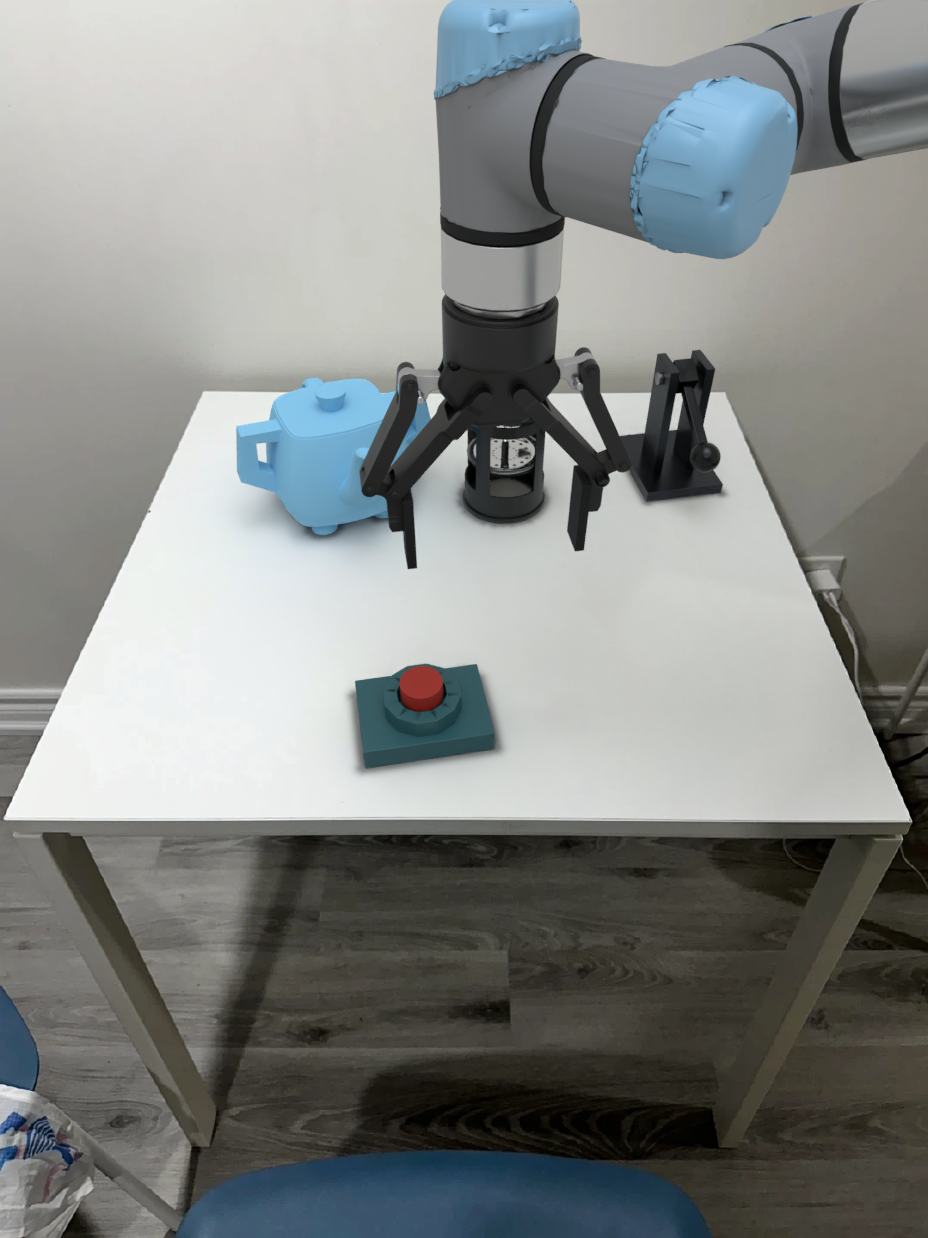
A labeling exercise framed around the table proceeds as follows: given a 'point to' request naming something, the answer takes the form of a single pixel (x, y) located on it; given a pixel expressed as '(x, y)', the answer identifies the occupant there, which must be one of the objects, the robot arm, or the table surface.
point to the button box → (423, 719)
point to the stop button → (421, 688)
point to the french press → (505, 471)
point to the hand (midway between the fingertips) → (493, 549)
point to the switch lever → (695, 418)
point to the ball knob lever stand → (671, 437)
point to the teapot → (321, 450)
